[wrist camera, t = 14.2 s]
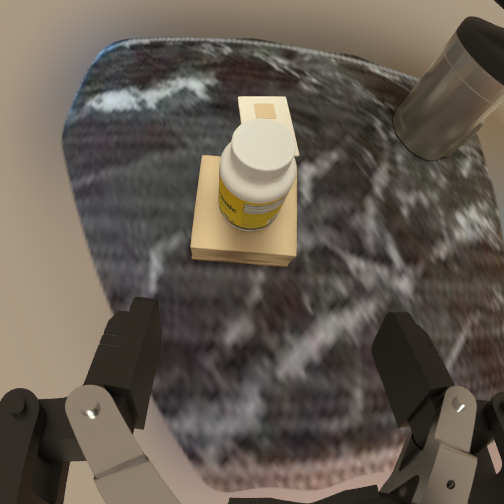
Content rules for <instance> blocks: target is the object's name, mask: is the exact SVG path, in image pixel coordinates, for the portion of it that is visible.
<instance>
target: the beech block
mask: <svg viewBox="0 0 504 504" xmlns="http://www.w3.org/2000/svg"><path fill="white" fill-rule="evenodd" d="M220 159H221V157H219V156H206V155H202V161H201V168H200V175H199V182H198V190H197V197H196V205H195V213H194V221H193V230H192V239H191V251H192V259H194V260H206V261H218V262H231V263H243V264H256V265H269V266H282V267H288V266H289V263H290V262H291V261H292V260H293V259H294V258H295V257H296V242H297V171H296V177H295V181H294V183H293V185H292V187H291V189H290V191H289V193H288V195H287V197H286V199H285V201H284V203H283V205H282V207H281V209H280V211H279V213H278V215H277V217H276V218H275V220H274V221H273V222H272V223H271V224H270V225H268V226H267V227H265V228H263V229H261V230H257V231H243V230H239V229H237V228H235V227H233V226H231V225H230V224H229V223H228V222H227V221H226V220H225V219H224V217H223V216H222V214H221V212H220V209H219V202H218V196H219V164H220ZM296 168H297V165H296Z"/></svg>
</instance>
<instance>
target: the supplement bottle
mask: <svg viewBox="0 0 504 504" xmlns="http://www.w3.org/2000/svg"><path fill="white" fill-rule="evenodd" d="M295 150H296V146H295V141H294V138H293V136H292V134H291V133H290V131H289V130H288V129H287V128H286V127H284V126H283V125H282V124H280V123H278V122H276V121H273V120H270V119H264V118H258V119H252V120H249V121H246V122H244V123H243V124H241V125H240V126H239V127H238V128H237V129H236V130H235V132H234V134H233V137H232V142H230V143H229V144H228V145H227V147H226V148H225V149H224V151H223V153H222V156H221V159H220V164H219V196H218V202H219V209H220V212H221V214H222V216H223V217H224V219H225V220H226V221H227V222H228V223H229V224H230V225H231V226H233V227H235V228H237V229H239V230H243V231H257V230H261V229H263V228H265V227H267V226H268V225H270V224H271V223H272V222H273V221H274V220H275V218H276V217H277V215H278V213H279V211H280V209H281V207H282V205H283V203H284V201H285V199H286V197H287V195H288V193H289V191H290V189H291V187H292V185H293V183H294V181H295V177H296V171H297V168H296V161H295V158H294V155H295Z"/></svg>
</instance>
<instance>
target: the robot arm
mask: <svg viewBox="0 0 504 504" xmlns="http://www.w3.org/2000/svg"><path fill="white" fill-rule="evenodd" d="M494 1H495V2H496V3H497V4H499V5H500V6H501V7H502V8H503V9H504V0H494ZM503 101H504V28H502V27H499V26H497V25H494V24H492V23H490V22H487V21H486V20H483V19H481V18H478V17H467V18H466V19H465V20H464V21H463V22H462V23H461V24H460V26H459V27H458V29H457V30H456V32H455V33H454V35H453V36H452V37H451V39H450V40H449V41H448V43H447V44H446V46H445V47H444V48H443V50H442V51H441V52H440V54H439V55H438V56H437V58H436V59H435V60H434V62H433V63H432V64H431V66H430V67H429V68H428V70H427V71H426V73H425V74H424V75H423V76H422V78H421V79H420V80H419V82H418V83H417V84H416V86H415V87H414V88H413V90H412V91H411V92H410V93H409V95H408V96H407V97H406V99H405V100H404V101H403V103H402V104H401V105H400V107H399V108H398V109H397V111H396V112H395V114H394V116H393V125H394V128H395V131H396V133H397V135H398V137H399V138H400V140H401V141H402V143H403V144H404V145H405V146H406V147H407V148H408V149H409V150H410V151H411V152H412V153H414V154H415V155H417V156H418V157H421V158H423V159H425V160H429V161H435V160H438V159H440V158H441V157H449V156H450V155H451V154H452V153H453V152H455V151H456V150H457V149H458V148H459V147H460V146H461V145H463V144H464V143H465V142H466V141H467V140H468V139H470V138H471V137H472V136H473V135H474V134H475V133H476V132H477V131H479V130H480V129H481V128H482V127H483V126H484V125H485V118H486V117H487V116H488V115H489V114H490V113H491V112H492V111H494V109H496V108H497V107H498V106H499V105H500V104H501V103H502V102H503ZM160 347H161V325H160V315H159V305H158V300H157V299H152V298H142V297H135V298H134V300H133V302H132V305H131V307H130V310H129V312H127V311H118V312H117V313H116V314H115V315H114V316H113V317H112V318H111V319H110V320H109V321H108V323H107V326H106V328H105V331H104V335H103V336H102V338H101V341H100V345H98V348H97V351H96V353H95V356H94V358H93V361H92V364H91V366H90V369H89V371H88V374H87V377H86V380H85V382H84V384H83V385H82V386H81V387H78V388H76V389H75V390H74V391H72V392H71V393H70V394H69V396H68V397H65V398H58V399H37V397H36V396H35V395H34V394H33V393H32V392H31V391H29V390H27V389H23V388H17V389H14V390H11V391H9V392H8V393H6V394H5V395H4V397H3V398H2V399H1V401H0V504H63V502H64V495H65V488H66V481H67V476H68V470H69V465H70V461H87V462H88V464H89V466H90V468H91V470H92V472H93V475H94V482H95V484H96V487H97V489H98V491H99V492H100V494H101V496H102V498H103V500H104V501H105V503H106V504H181V503H180V502H179V501H178V499H177V498H176V497H175V496H174V494H173V493H172V491H171V490H170V489H169V487H168V486H167V484H166V483H165V482H164V480H163V479H162V477H161V476H160V475H159V473H158V472H157V470H156V469H155V467H154V466H153V464H152V463H151V461H150V460H149V459H148V457H146V455H145V454H144V453H143V451H142V450H141V448H140V446H139V445H138V443H137V442H136V440H135V438H134V436H133V432H134V428H137V429H142V430H143V429H144V426H145V420H146V415H147V410H148V404H149V399H150V394H151V389H152V385H153V380H154V375H155V370H156V366H157V361H158V356H159V352H160ZM372 355H373V358H374V361H375V364H376V366H377V369H378V372H379V374H380V377H381V380H382V382H383V385H384V388H385V391H386V394H387V396H388V399H389V402H390V405H391V408H392V411H393V414H394V417H395V420H396V423H397V426H398V428H401V427H406V426H410V427H411V431H410V432H409V433H408V435H407V438H406V440H405V443H404V446H403V448H402V451H401V453H400V456H399V458H398V461H397V463H396V465H395V468H394V470H393V472H392V474H391V476H390V477H389V479H388V480H387V481H386V482H385V484H384V485H383V486H382V488H381V490H380V491H379V492H378V487H377V485H372V486H367V487H362V488H357V489H351V490H345V491H342V492H340V493H337V494H335V495H332V496H330V497H327V498H324V499H322V500H319V501H316V502H313V503H308V504H467V502H468V504H504V392H499V393H497V394H496V395H495V396H494V397H493V398H492V399H491V400H490V401H483V400H475V398H474V396H473V395H472V394H471V392H470V391H468V390H467V389H465V388H464V387H461V386H455V385H454V383H453V381H452V379H451V377H450V375H449V373H448V371H447V369H446V367H445V365H444V363H443V361H442V359H441V357H440V356H438V352H437V350H436V348H435V347H434V344H433V343H432V341H431V339H430V337H429V335H428V334H427V333H426V332H425V331H424V330H423V329H422V328H421V327H420V326H419V325H416V323H415V322H414V320H413V318H412V316H411V315H410V313H408V312H389V313H387V315H386V316H385V318H384V321H383V323H382V325H381V327H380V329H379V331H378V333H377V335H376V337H375V339H374V341H373V345H372ZM493 440H495V443H496V445H497V448H498V451H499V454H500V456H501V460H502V468H501V470H500V472H499V473H498V474H496V472H495V469H494V466H493V463H492V460H491V457H490V454H489V451H488V448H487V445H488V444H490V443H491V442H492V441H493ZM228 504H306V503H297V502H291V501H284V500H279V499H273V498H229V502H228Z"/></svg>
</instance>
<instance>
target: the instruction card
mask: <svg viewBox="0 0 504 504" xmlns="http://www.w3.org/2000/svg"><path fill="white" fill-rule="evenodd" d="M238 104H239V112H240V119H241V124H243V123H244V122H246V121H249V120H252V119H258V118H264V119H270V120H273V121H276V122H278V123H280V124H282V125H283V126H284V127H286V128H287V129H288V130H289V131H290V133H291V134H292V136H293V138H294V141H295V146H296V150H295V155H294V157H299V152H298V147H297V143H296V138H295V134H294V130H293V125H292V121H291V117H290V113H289V109H288V105H287V101H286V97H263V96H261V97H238Z"/></svg>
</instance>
